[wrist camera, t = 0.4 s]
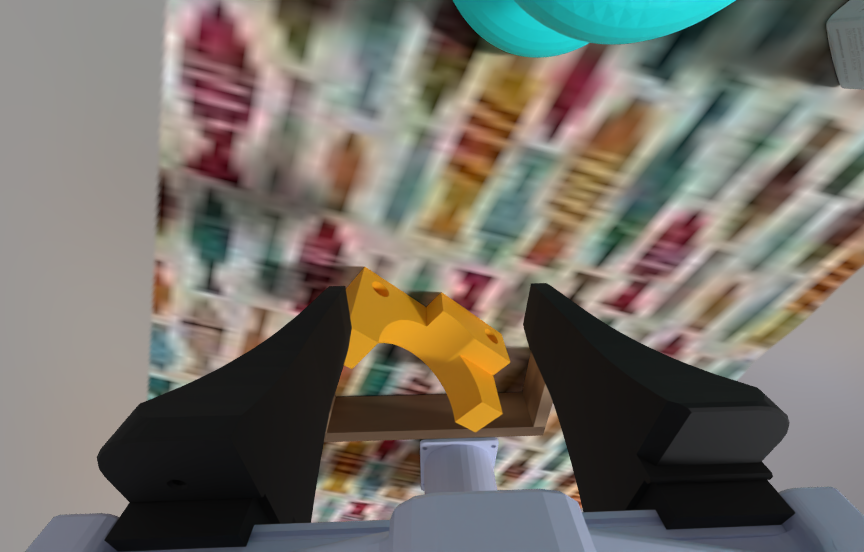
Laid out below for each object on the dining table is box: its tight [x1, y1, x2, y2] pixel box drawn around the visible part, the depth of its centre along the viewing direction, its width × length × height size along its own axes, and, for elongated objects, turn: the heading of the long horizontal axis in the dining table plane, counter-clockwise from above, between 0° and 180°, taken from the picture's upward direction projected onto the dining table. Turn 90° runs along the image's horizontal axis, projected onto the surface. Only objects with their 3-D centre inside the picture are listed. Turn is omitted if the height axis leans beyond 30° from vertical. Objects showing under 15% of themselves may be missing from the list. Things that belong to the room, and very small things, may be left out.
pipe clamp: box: [344, 267, 510, 432], centre depth 22 cm, size 12×4×6 cm, turn 49°
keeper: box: [324, 352, 553, 442], centre depth 27 cm, size 7×19×4 cm, turn 90°
